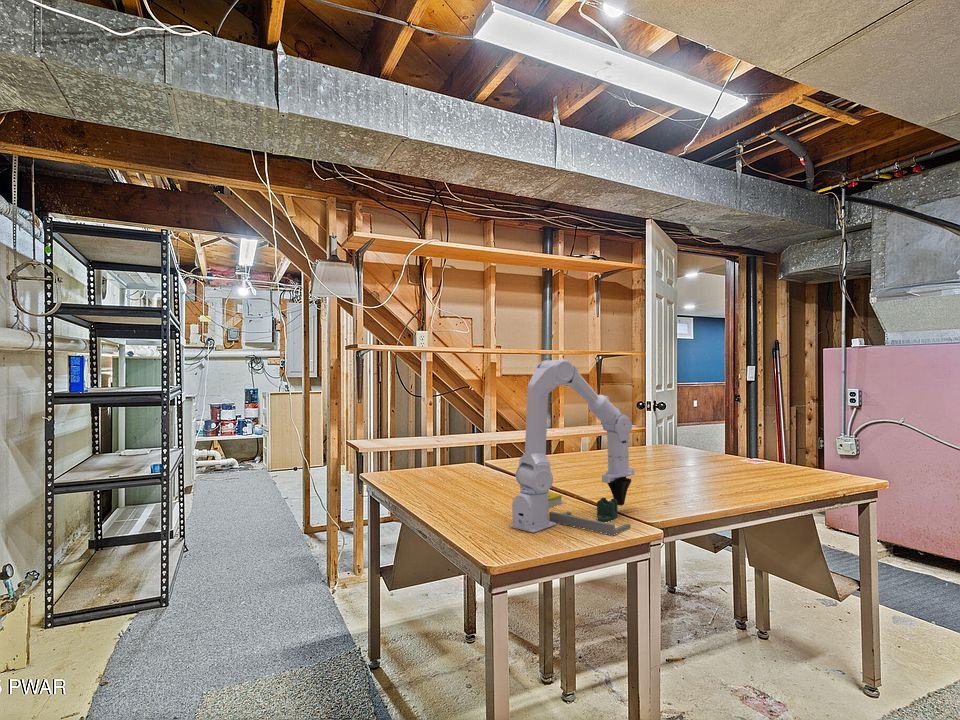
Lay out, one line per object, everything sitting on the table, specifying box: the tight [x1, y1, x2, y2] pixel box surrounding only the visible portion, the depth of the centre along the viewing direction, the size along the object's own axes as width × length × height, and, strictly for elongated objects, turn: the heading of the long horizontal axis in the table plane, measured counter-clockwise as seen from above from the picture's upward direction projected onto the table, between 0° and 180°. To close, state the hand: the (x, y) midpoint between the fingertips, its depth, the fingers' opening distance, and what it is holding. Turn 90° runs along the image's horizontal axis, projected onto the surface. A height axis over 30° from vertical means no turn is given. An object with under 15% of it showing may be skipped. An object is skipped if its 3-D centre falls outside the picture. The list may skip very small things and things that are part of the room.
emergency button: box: [548, 492, 567, 509], centre depth 154 cm, size 9×4×15 cm
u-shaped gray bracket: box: [549, 511, 631, 536], centre depth 133 cm, size 8×19×2 cm, turn 45°
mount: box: [596, 497, 619, 523], centre depth 139 cm, size 11×4×5 cm, turn 151°
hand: (619, 504), depth 144 cm, fingers closed
